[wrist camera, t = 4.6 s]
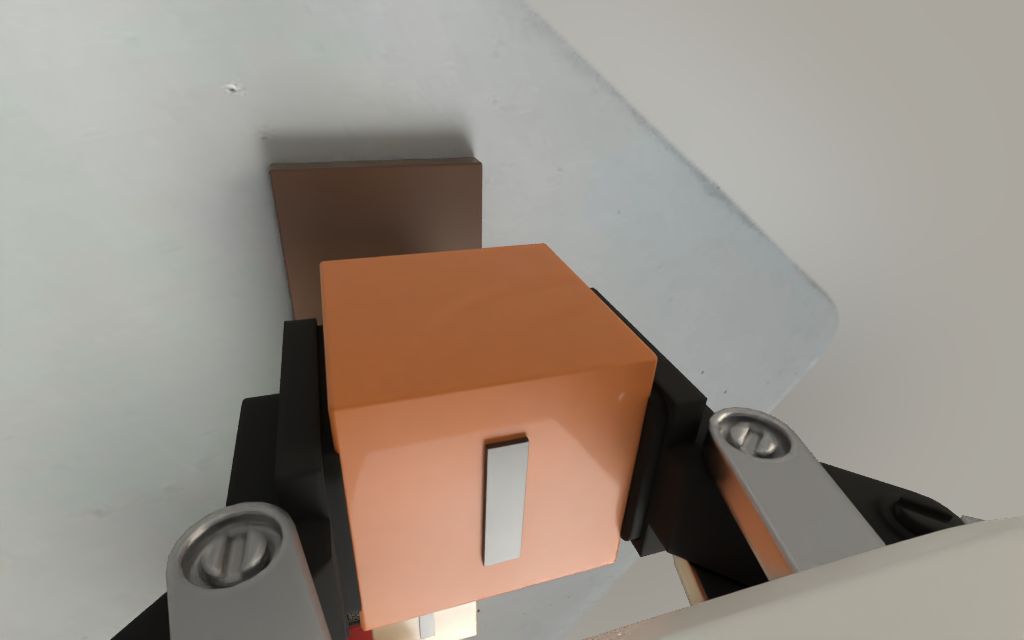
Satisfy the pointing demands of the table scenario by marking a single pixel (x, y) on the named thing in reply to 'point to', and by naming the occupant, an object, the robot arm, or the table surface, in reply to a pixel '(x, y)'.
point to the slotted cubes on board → (375, 233)
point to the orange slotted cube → (477, 423)
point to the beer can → (359, 633)
